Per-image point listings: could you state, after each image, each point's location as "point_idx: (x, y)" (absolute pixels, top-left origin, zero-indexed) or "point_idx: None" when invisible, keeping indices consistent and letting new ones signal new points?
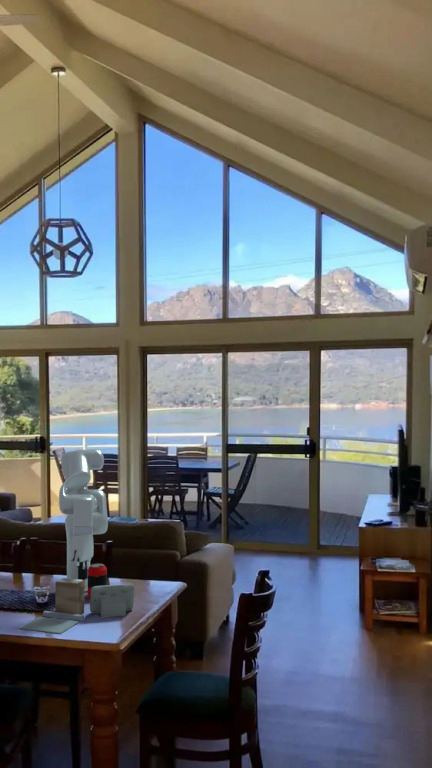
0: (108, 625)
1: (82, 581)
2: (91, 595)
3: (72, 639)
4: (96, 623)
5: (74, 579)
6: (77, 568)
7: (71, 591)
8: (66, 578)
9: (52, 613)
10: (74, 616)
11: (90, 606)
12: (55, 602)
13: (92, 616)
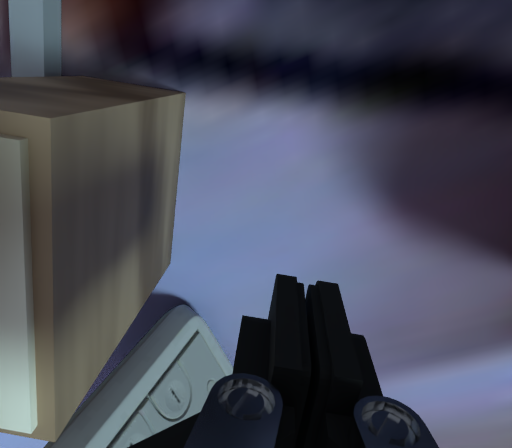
0: (23, 437)
1: (10, 432)
2: (71, 417)
3: None
4: None
5: (14, 333)
6: (218, 382)
7: None
8: (16, 201)
9: (13, 76)
10: None
11: (146, 334)
12: (26, 77)
13: (130, 327)
